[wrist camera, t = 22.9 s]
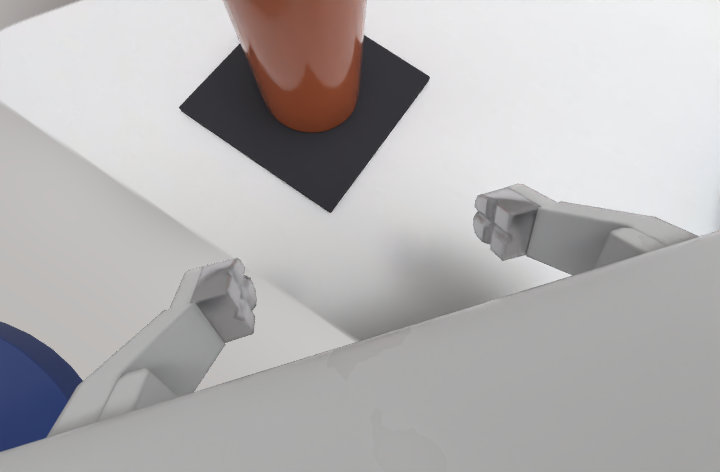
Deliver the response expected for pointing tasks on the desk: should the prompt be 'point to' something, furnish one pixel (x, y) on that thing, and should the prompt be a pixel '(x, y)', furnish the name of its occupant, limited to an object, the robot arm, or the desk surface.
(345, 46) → the canister
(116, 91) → the desk surface
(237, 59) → the mat
